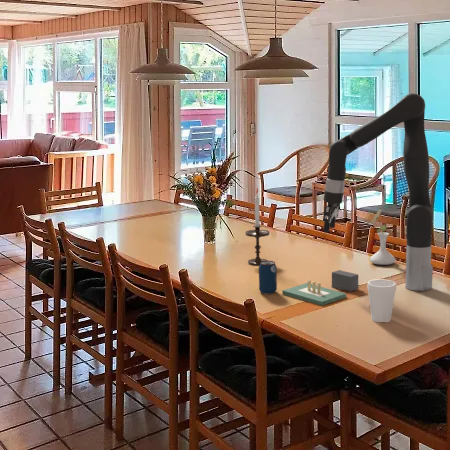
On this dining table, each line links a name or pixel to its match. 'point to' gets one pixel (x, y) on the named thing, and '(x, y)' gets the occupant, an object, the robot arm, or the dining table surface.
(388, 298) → the foam cup
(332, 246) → the dining table surface
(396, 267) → the dining table surface
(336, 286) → the block
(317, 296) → the pin board
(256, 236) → the candlestick
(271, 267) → the soda can
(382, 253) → the flower in vase
